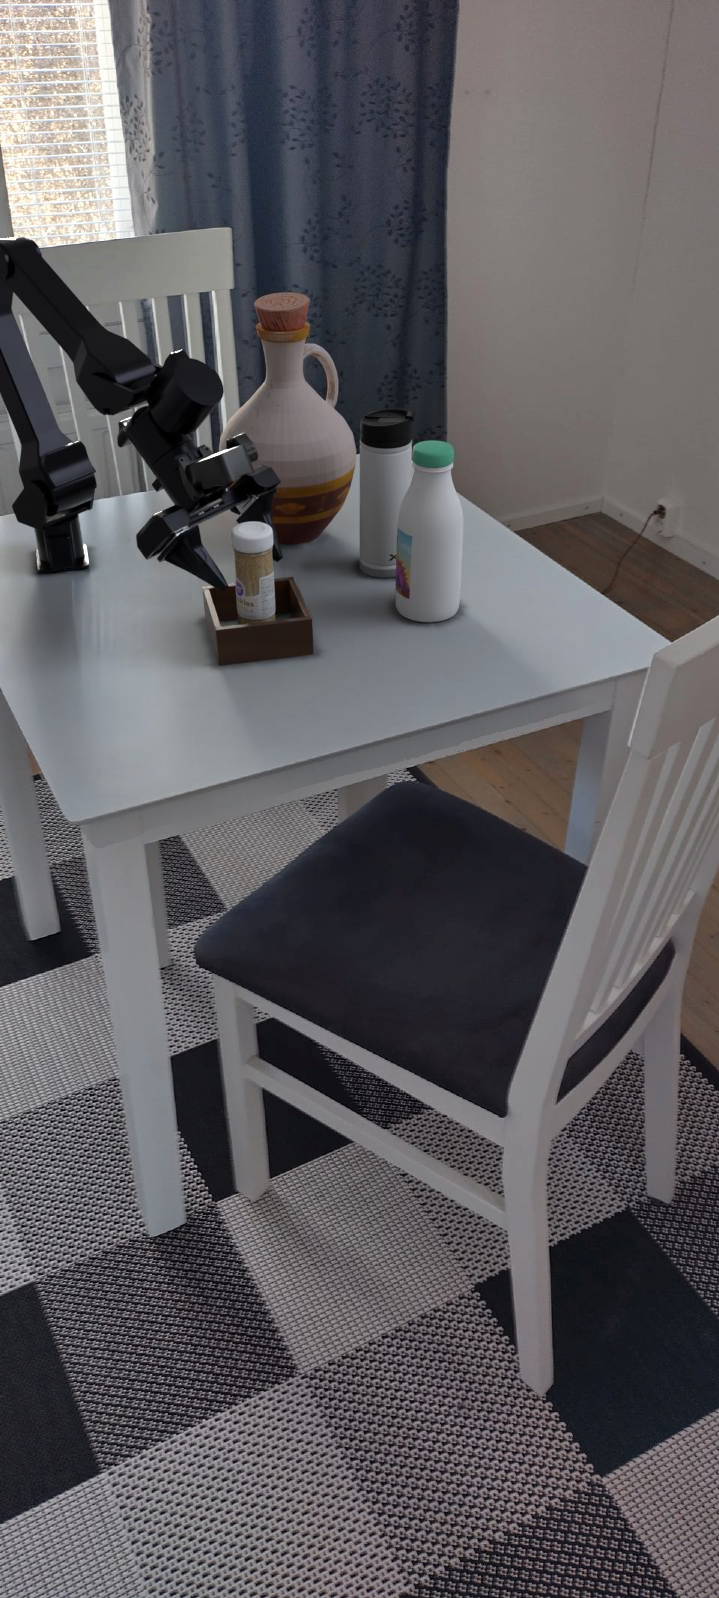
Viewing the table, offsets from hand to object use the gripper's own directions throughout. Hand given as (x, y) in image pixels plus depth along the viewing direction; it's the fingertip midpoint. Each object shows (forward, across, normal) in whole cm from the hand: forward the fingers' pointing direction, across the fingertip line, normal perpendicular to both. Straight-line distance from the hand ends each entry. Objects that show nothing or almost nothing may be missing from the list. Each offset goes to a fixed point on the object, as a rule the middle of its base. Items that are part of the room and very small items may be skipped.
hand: (253, 574), depth 132 cm
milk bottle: (+14, +18, -2) cm, 23 cm away
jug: (-5, +25, +16) cm, 31 cm away
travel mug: (+7, +24, +5) cm, 25 cm away
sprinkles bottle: (+6, 0, +6) cm, 8 cm away
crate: (+6, 0, +6) cm, 8 cm away
